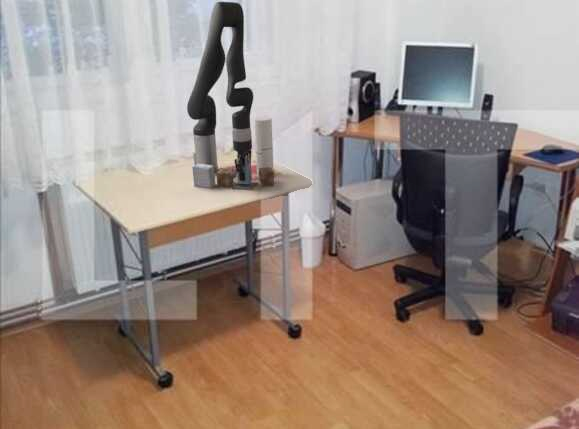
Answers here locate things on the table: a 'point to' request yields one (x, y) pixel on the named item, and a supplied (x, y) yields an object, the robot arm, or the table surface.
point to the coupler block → (246, 174)
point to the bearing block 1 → (225, 177)
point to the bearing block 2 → (266, 176)
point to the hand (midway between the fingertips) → (244, 178)
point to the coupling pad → (244, 186)
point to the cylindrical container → (263, 142)
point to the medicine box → (204, 175)
